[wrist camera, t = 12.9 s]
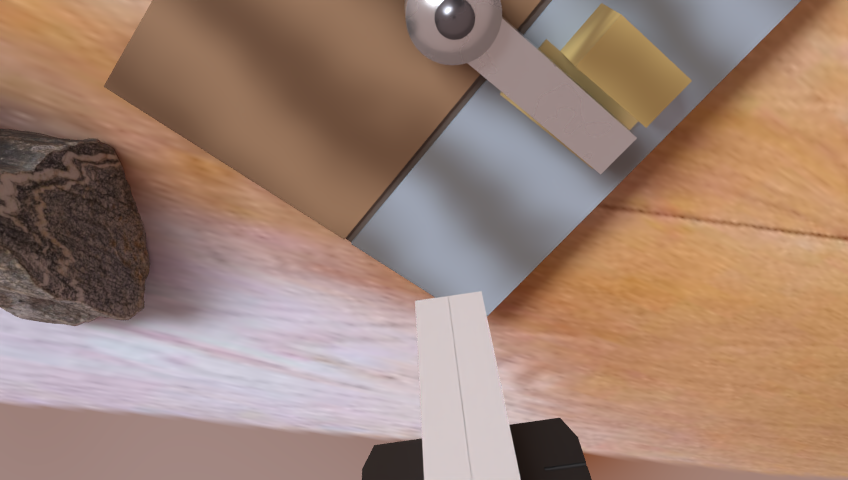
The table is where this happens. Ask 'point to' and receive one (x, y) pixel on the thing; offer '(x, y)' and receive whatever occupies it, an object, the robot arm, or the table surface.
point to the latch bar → (517, 73)
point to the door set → (426, 117)
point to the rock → (68, 231)
